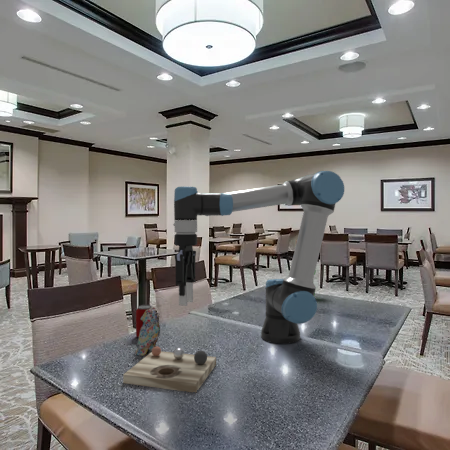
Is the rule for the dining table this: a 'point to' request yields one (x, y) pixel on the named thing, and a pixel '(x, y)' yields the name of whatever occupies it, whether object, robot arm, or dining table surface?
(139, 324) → the beverage can
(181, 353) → the steel ball
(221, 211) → the robot arm
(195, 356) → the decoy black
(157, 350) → the pink rubber ball
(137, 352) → the figurine
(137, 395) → the dining table surface
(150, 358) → the board
